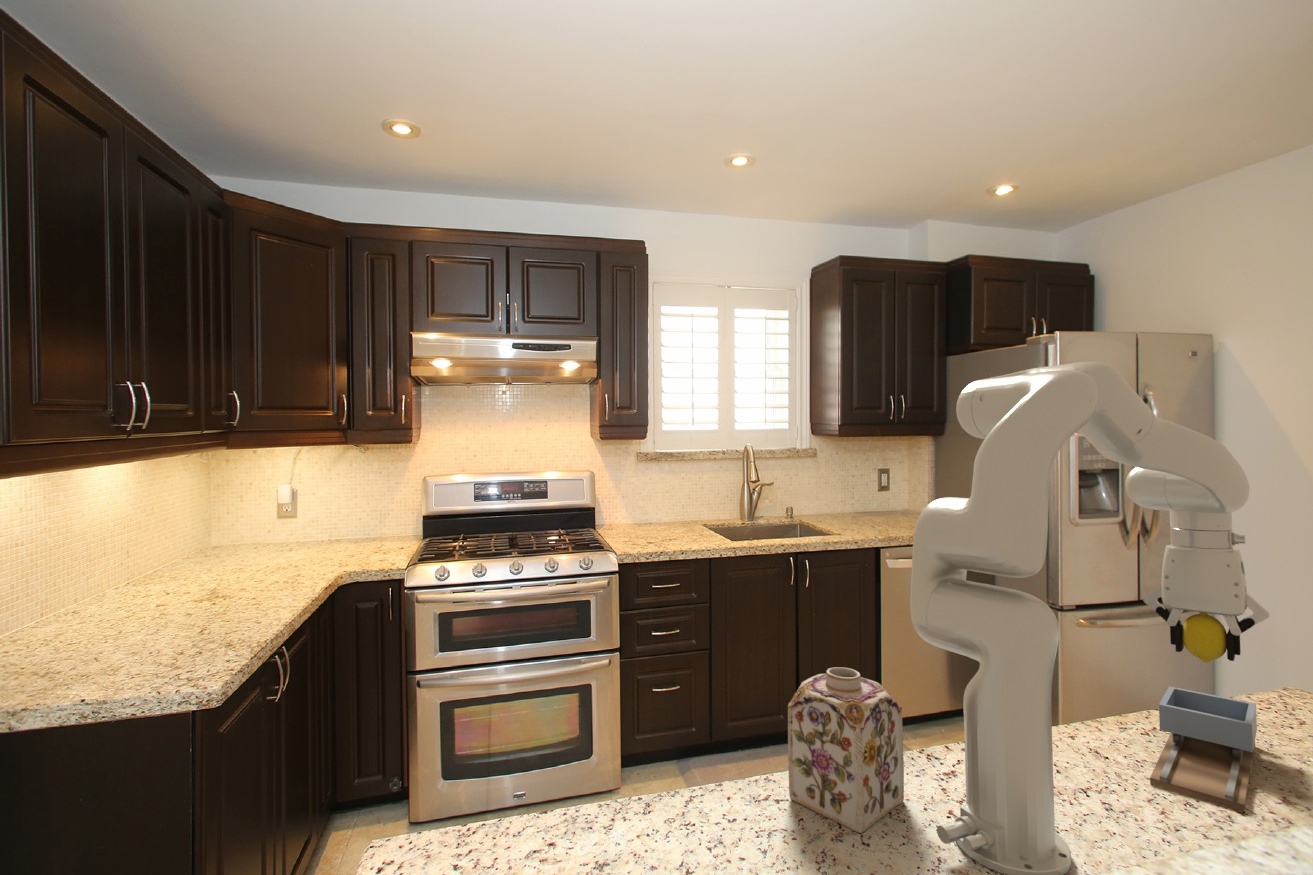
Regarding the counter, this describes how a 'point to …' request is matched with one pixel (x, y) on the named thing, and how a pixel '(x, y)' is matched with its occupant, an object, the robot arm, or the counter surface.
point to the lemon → (1204, 637)
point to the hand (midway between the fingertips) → (1204, 653)
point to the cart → (1209, 719)
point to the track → (1204, 771)
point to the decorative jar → (845, 748)
